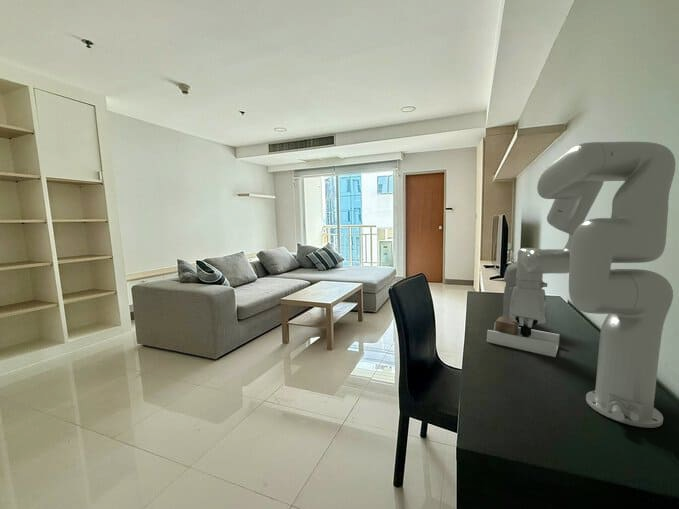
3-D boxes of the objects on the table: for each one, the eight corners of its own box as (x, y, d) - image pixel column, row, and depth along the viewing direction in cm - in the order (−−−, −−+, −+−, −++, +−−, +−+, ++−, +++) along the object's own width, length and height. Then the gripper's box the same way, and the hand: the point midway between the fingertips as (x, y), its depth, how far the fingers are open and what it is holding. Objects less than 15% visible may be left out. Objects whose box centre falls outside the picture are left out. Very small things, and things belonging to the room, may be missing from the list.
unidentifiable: (527, 329, 121) (531, 266, 119) (498, 324, 127) (501, 264, 125) (533, 320, 132) (536, 262, 130) (506, 316, 139) (509, 261, 136)
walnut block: (517, 335, 111) (518, 319, 110) (513, 341, 105) (514, 324, 105) (499, 332, 114) (500, 316, 114) (494, 337, 109) (495, 321, 108)
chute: (558, 345, 105) (559, 334, 105) (555, 357, 96) (556, 344, 96) (494, 332, 118) (495, 322, 117) (486, 341, 109) (487, 330, 108)
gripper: (556, 285, 102) (552, 339, 104) (506, 280, 112) (504, 329, 114) (554, 289, 97) (550, 345, 98) (501, 283, 106) (499, 335, 108)
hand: (525, 336), depth 106 cm, fingers closed
